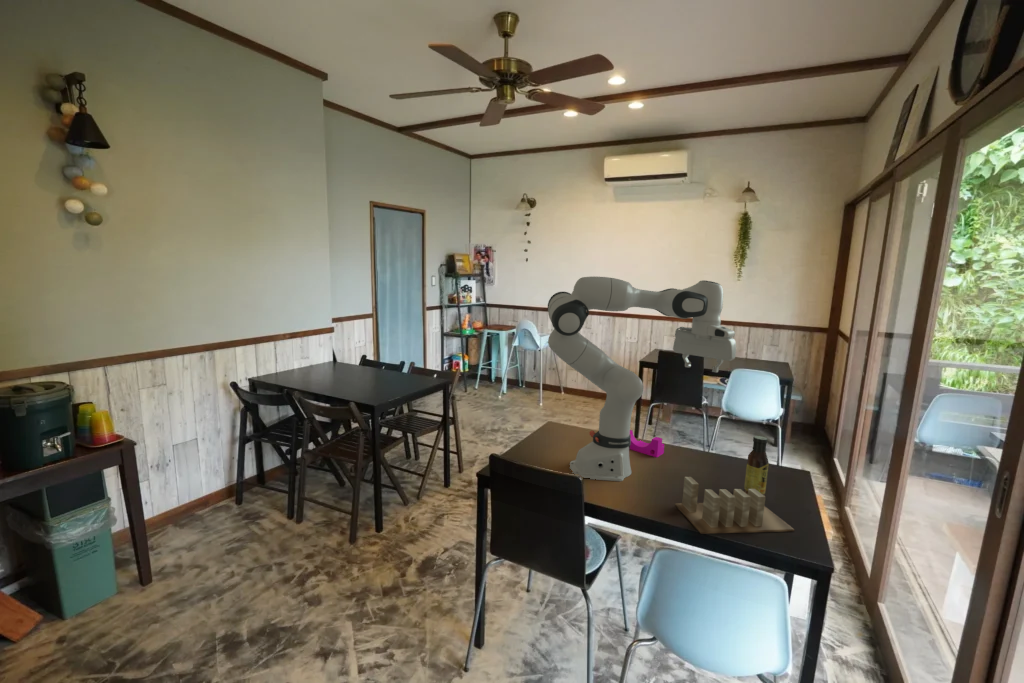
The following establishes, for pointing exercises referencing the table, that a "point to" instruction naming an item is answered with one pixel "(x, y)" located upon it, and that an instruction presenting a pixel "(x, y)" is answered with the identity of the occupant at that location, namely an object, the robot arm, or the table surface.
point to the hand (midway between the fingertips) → (701, 369)
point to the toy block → (647, 446)
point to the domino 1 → (690, 494)
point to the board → (768, 525)
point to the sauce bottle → (757, 466)
